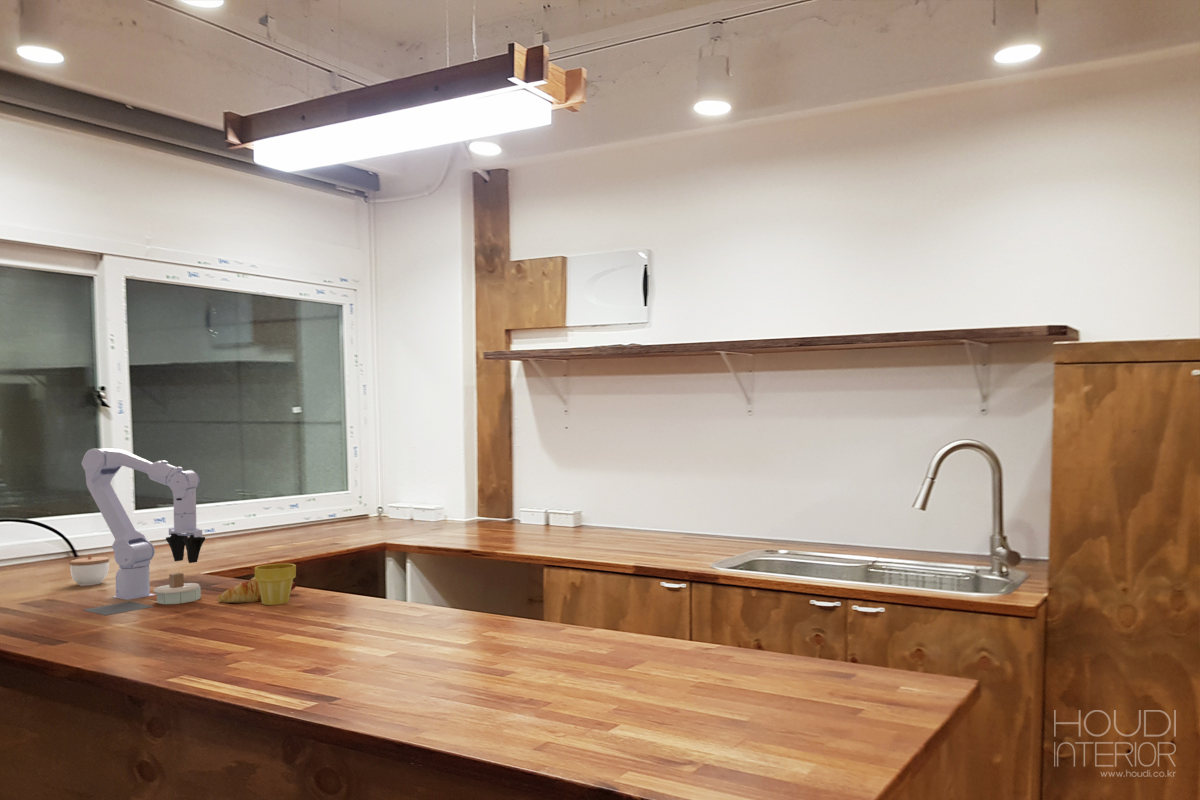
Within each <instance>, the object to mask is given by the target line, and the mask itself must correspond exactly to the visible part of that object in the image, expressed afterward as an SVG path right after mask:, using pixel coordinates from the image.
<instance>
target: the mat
mask: <svg viewBox="0 0 1200 800" xmlns="http://www.w3.org/2000/svg"><path fill="white" fill-rule="evenodd" d="M154 607H155V606H154V605H149V604H145V603H144V604H143V603H139V602H134V601H123V602H119V603H118V602H117V603H114V604H113V603H112V604H108V605H107V604H106V605H101V606H96V607H90V608H84V609H82V611H84V612H89V613H93V614H97V615H101V616H111V615H117V614H122V613H128V612H133V611H138V610H143V609H149V608H154Z"/></svg>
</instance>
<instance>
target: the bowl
mask: <svg viewBox="0 0 1200 800" xmlns="http://www.w3.org/2000/svg"><path fill="white" fill-rule="evenodd" d="M201 588H202V586H199V588H198V589H196V590H192V591H187V592H180V593H170V594H157V593H156V603H157V604H160V605H177V604H179V605H180V604H185V603H190V602H195V601H199V600H200V599H201V598H202V594H201V593H202V591H201Z"/></svg>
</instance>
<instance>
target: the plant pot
mask: <svg viewBox="0 0 1200 800" xmlns="http://www.w3.org/2000/svg"><path fill="white" fill-rule="evenodd" d="M296 573H297V565H296V564H294V563H284V562H283V563H272V564H271V563H270V564H269V563H268V564H262V565H257V566H255V567H254V577H255V580H256V581H257V582H258V586H259V591H260V596H261V600H262V601H261V604H262V605H265V606H274V605H275V606H277V605H284V604H288V603H289V602H290V597H291V592H292V591H291V587H292V583H293V582H294V579H295V578H296V575H297V574H296Z"/></svg>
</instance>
